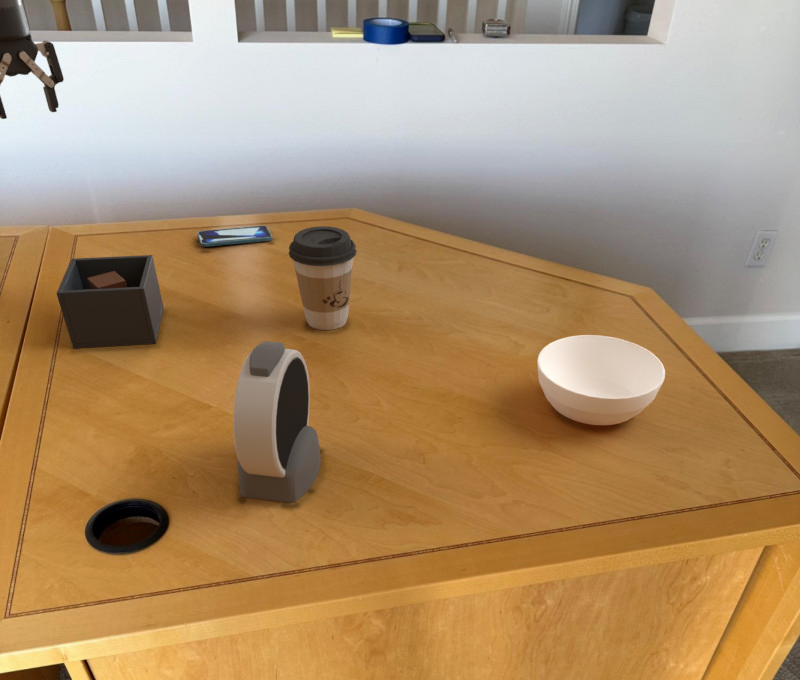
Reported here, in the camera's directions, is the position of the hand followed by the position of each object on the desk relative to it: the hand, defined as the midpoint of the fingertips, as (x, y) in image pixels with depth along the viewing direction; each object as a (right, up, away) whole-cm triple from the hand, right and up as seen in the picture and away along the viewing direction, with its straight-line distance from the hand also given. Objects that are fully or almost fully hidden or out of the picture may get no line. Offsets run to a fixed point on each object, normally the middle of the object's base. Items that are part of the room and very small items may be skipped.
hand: (28, 114), depth 135 cm
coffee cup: (+52, -36, +2) cm, 63 cm away
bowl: (+94, -54, -18) cm, 110 cm away
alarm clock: (+49, -65, -30) cm, 87 cm away
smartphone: (+30, -10, +30) cm, 43 cm away
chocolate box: (+16, -37, -1) cm, 40 cm away
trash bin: (+16, -37, 0) cm, 40 cm away
